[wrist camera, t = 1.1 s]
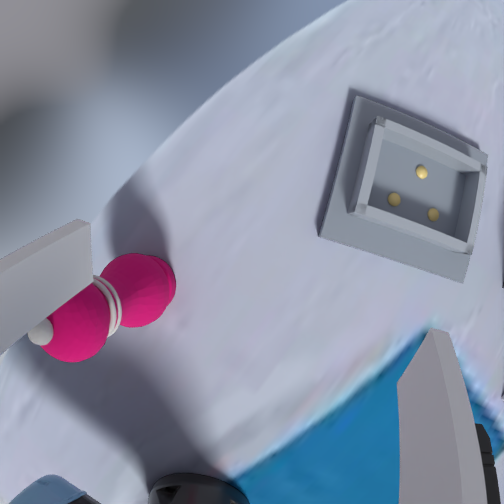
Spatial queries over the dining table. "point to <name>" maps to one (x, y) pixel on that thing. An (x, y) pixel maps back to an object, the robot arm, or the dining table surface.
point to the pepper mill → (107, 307)
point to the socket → (406, 191)
